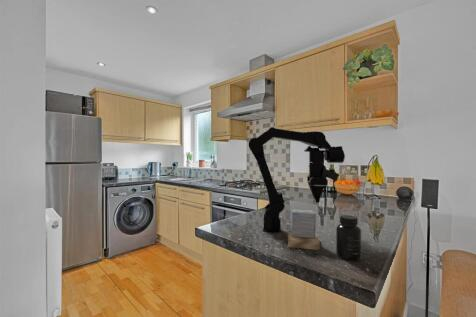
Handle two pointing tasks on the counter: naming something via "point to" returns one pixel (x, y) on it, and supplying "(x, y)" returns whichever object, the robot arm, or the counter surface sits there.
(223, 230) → the counter surface
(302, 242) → the oak block
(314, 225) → the medicine box
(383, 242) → the counter surface
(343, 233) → the supplement bottle
